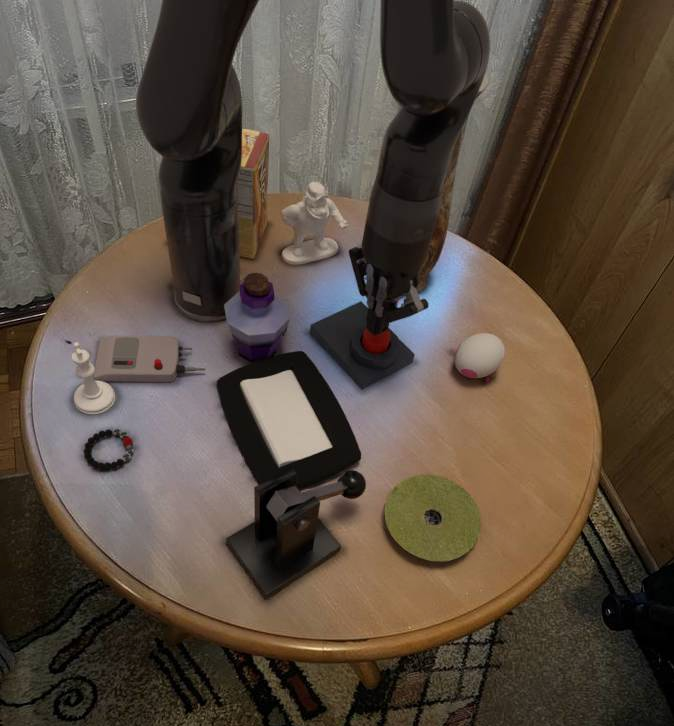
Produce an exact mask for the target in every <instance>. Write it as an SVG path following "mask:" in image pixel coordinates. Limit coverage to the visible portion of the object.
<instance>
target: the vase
mask: <svg viewBox="0 0 674 726" xmlns="http://www.w3.org/2000/svg"><path fill="white" fill-rule="evenodd" d="M489 83H490V77H489V75H488V73H485V76H484V79H483V82H482V84H481V87H480V89H479V92H478V94H477V97H476V99H475V101H476V100H477V98H479V97H480V96H481V94H482V93H483V92H484V91H485V90H486V89H487V88H488V86H489ZM462 134H463V129H462V130H461V132H460V134H459V137H458V139H457V141H456V144H455V146H454V149H453V153H452V158H451V163H450V166H449V170H448V173H447V177H446V180H445V184H444V187H443V192H442V199H441V206H440V211H439V214H438V218H437V221H436V225H435V228H434V232H433V235H432V239H431V242H430V246H429V249H428V253H427V257H426V259H425V261H424V263H423V265H422V266H421V268H420V270H419V272H418V278H419V284H418V287H417V288H416V290H417V293H419V292H421V291H422V290H423V289H425V287H426V285H427V284H428V274H429V273H431V271H432V270H433V269H434V267H435V266H436V265H437V263H438V261H439V260H440V257H441V254H442V252H443V248H444V245H445V243H446V238H447V234H448V228H449V222H450V216H451V208H452V201H453V194H454V187H455V179H456V172H457V164H458V159H459V152H460V145H461V139H462ZM403 296H406V294H404V295H403Z"/></svg>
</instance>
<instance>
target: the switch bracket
mask: <svg viewBox="0 0 674 726" xmlns="http://www.w3.org/2000/svg"><path fill="white" fill-rule="evenodd" d="M296 477H297V473H296V472H295V470H294V469H293V468H292V467H289V468H288V469H286V470H284V471H282V472H281V473H279V474H277V475H275V476H274V477H272V478H270V479H268V480H266V481H265V482H263V483H261V484H258V485H256V486H254V487H253V494H254V498H253V500H254V504H253V505H254V521H253V522H251V523H250V524H248V525H247V526H245V527H243V528H241V529H240V530H238V531H236V532H234V533H233V534H231V535H229V536H228V537H226V538H225V542H226V543H225V544H226V545H227V546H228V547H229V549H230V551H231V552H232V553H233V555H234V556H235V558H236V559H237V560H238V562H239V563H240V565H241V566H242V567H243V569H244V570H245V572H246V573H247V575H248V576H249V577H250V579H251V581H253V583H254V585H255V586H256V588H257V589H258V590H259V592H260V593H261V594H262V596H263V597H264V599H265V600H267V599H269V598H270V597H272V596H274V595H275V594H277V593H278V592H280V591H281V590H282V589H284V588H286V587H287V586H289V585H290V584H292V583H294V582H295V581H296V580H298V579H300V578H301V577H302V576H304V575H306V574H307V573H309V572H310V571H312V570H313V569H315V568H316V567H318V566H320V565H321V564H323V563H324V562H326V561H327V560H328V559H330V558H332V557H334V555H336V554H338V553H339V552H340V551H341V549H342V545H340V543H339V542H338V541H337V539H336V538H335V537H334V535H333V534H332V533H331V531H329V529H328V528H327V527H326V526H325V524H324V523H323V521H321V519H320V518H319V513H320V507H321V501H319V500H318V499H317V498H316V497H315V496H313V497H312V498H310V499H308V500H307V501H305V502H303V503H302V504H300V505H298V506H297V507H295V508H293V509H291V510H290V511H288V512H286V513H285V514H283V515H281V516H280V517H278V519H277V521H276V519H275V518H274V517H273V516H272V514H271V513H270V512H269V510H268V509H267V508H266V506H267V504H268V502H269V501H270V499H271V497H272V496H273V494H274V492H275V491H277V490H281V489H284V488H288V487H292V486H296Z"/></svg>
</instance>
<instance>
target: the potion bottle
mask: <svg viewBox="0 0 674 726" xmlns="http://www.w3.org/2000/svg"><path fill="white" fill-rule="evenodd" d="M239 287H240V291H239V292H238V293H237V294H235V295H234V296H233V297H232V298H231V299H230V300H229V301H228V302H227V303H225V304H224V308H225V313H226V318H225V319H226V324H227V326H228V329H229V332H230V335H231V338H232V339H233V340H234V341H235V344H236V347H237V353H238V356H239V357H240V358H243V360H245V361H247V362H249V363H252V362H255V361H257V360H260V359H264V358H268V357H271V356H275V355H277V353H278V346H279V344H280V341H281V338H282V337H284V336H286V334H287V333H288V329H289V328H288V327H289V323H290V319H291V316H290V312H289V308H288V304H287V300H286V299H285V298H283V297H281V296H280V295H278V294H276V293H275V289H274V284H273V282H271V281H269V278H268V276H267V275H265V274H263V273H261V272H251V273H249V274H246V275H245V277H244V278H243V282H242V283H240V286H239Z"/></svg>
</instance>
